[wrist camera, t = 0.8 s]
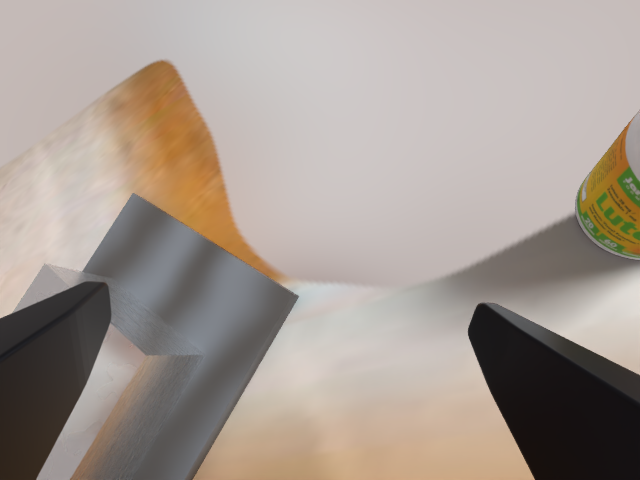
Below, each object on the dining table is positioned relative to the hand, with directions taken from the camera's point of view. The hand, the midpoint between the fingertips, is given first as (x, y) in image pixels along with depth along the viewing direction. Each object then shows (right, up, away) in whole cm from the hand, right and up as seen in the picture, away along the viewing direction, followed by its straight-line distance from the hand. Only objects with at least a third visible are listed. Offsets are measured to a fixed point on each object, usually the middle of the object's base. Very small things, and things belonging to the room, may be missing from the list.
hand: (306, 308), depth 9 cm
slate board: (-13, -8, +17) cm, 22 cm away
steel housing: (-13, -8, +16) cm, 22 cm away
